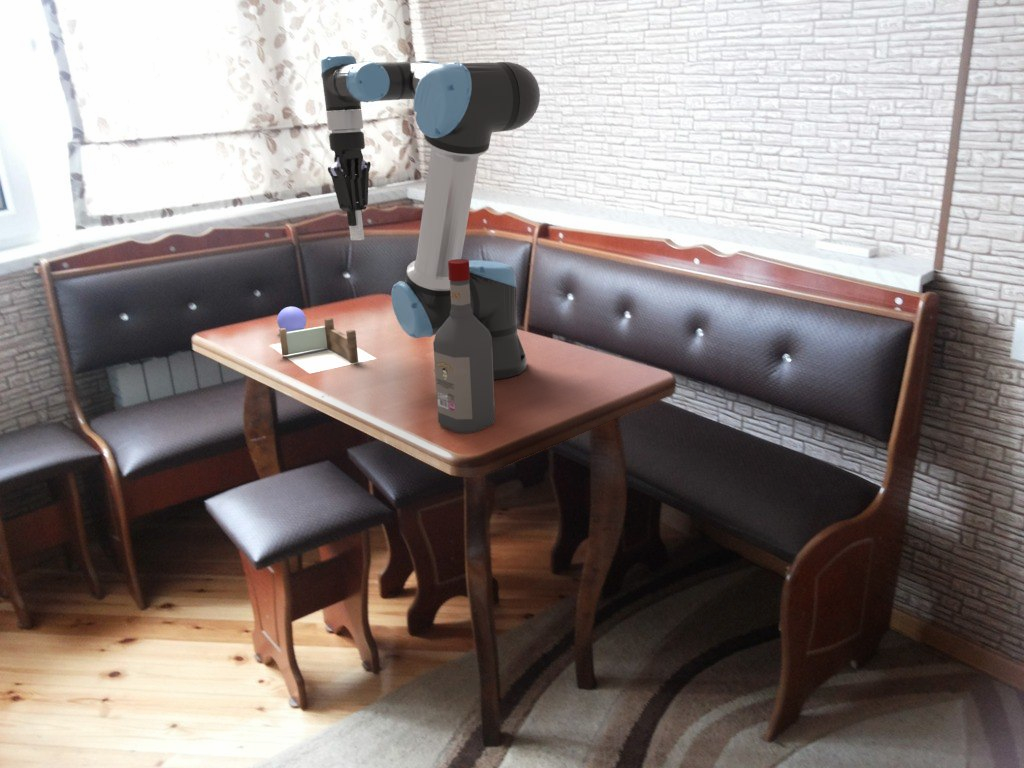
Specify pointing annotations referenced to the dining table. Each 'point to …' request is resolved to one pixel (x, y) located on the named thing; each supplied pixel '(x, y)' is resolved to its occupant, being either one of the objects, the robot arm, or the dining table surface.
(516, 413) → the dining table surface
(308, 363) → the card
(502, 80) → the robot arm
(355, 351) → the fixed fence section
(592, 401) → the dining table surface
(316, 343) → the folding fence panel
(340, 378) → the dining table surface
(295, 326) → the sphere
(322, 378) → the dining table surface
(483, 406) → the liquor
